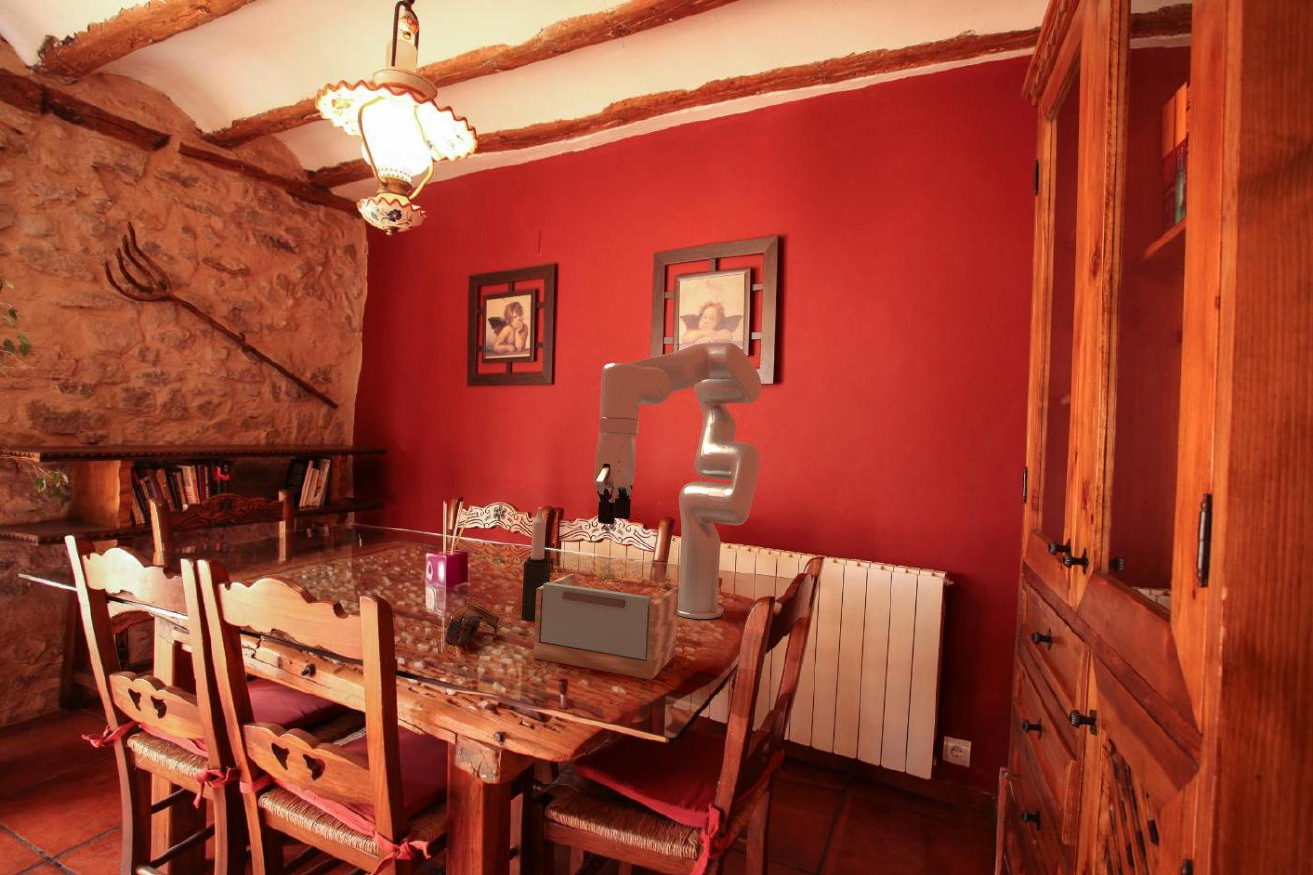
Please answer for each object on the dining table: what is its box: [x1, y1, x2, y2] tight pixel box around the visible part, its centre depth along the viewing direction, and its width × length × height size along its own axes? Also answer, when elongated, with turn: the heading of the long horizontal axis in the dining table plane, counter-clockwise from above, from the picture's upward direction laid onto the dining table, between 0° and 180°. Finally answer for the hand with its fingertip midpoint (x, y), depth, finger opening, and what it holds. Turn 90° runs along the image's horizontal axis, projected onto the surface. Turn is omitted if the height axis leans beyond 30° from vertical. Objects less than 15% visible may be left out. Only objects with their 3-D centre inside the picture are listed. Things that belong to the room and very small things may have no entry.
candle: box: [520, 506, 551, 622], centre depth 141 cm, size 5×5×25 cm
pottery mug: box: [444, 601, 500, 646], centre depth 124 cm, size 12×10×8 cm
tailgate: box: [541, 582, 652, 659], centre depth 113 cm, size 2×21×11 cm, turn 71°
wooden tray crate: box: [532, 573, 679, 680], centre depth 119 cm, size 14×23×13 cm, turn 71°
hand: (614, 520), depth 120 cm, fingers open, 7 cm apart
